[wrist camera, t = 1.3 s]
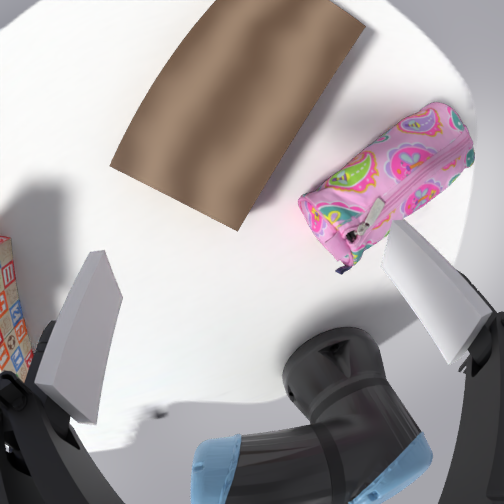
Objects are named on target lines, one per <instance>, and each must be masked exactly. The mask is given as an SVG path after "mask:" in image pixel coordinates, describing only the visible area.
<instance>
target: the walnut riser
mask: <svg viewBox="0 0 504 504" xmlns="http://www.w3.org/2000/svg"><path fill="white" fill-rule="evenodd" d="M365 27H366V26H365V25H363V24H362V23H361V22H359V21H358V20H357V19H355V18H354V17H353V16H351V15H350V14H348V13H347V12H346V11H344V10H343V9H341V8H340V7H338V6H337V5H335V4H334V3H332V2H331V1H329V0H216V1H215V2H214V3H213V4H212V5H211V6H210V8H209V9H208V10H207V11H206V12H205V13H204V14H203V16H202V17H201V18H200V19H199V20H198V22H197V23H196V24H195V25H194V27H193V28H192V29H191V30H190V32H189V33H188V34H187V36H186V37H185V38H184V39H183V41H182V42H181V43H180V45H179V46H178V48H177V49H176V50H175V52H174V53H173V55H172V56H171V57H170V59H169V60H168V62H167V63H166V65H165V66H164V68H163V69H162V71H161V72H160V74H159V75H158V77H157V78H156V80H155V81H154V83H153V85H152V86H151V88H150V90H149V91H148V93H147V94H146V96H145V98H144V100H143V101H142V103H141V105H140V106H139V108H138V110H137V112H136V114H135V115H134V117H133V119H132V121H131V123H130V125H129V127H128V129H127V130H126V132H125V134H124V136H123V138H122V140H121V142H120V144H119V146H118V149H117V151H116V153H115V155H114V157H113V159H112V161H111V164H110V167H112V168H114V169H116V170H118V171H120V172H122V173H124V174H126V175H128V176H130V177H132V178H134V179H136V180H138V181H140V182H142V183H144V184H146V185H148V186H150V187H152V188H154V189H156V190H158V191H160V192H162V193H164V194H166V195H168V196H170V197H172V198H174V199H176V200H177V201H179V202H181V203H183V204H185V205H187V206H189V207H191V208H193V209H195V210H197V211H199V212H201V213H203V214H205V215H207V216H209V217H211V218H212V219H214V220H216V221H218V222H220V223H222V224H224V225H226V226H228V227H230V228H232V229H234V230H236V231H237V232H238V230H239V228H240V227H241V225H242V223H243V221H244V220H245V218H246V216H247V215H248V213H249V211H250V210H251V208H252V206H253V205H254V203H255V201H256V200H257V198H258V196H259V195H260V193H261V191H262V190H263V188H264V186H265V185H266V183H267V181H268V180H269V178H270V176H271V175H272V173H273V171H274V170H275V168H276V166H277V165H278V163H279V161H280V160H281V158H282V157H283V155H284V153H285V152H286V150H287V148H288V147H289V145H290V144H291V142H292V140H293V139H294V137H295V135H296V134H297V132H298V131H299V129H300V127H301V126H302V124H303V123H304V121H305V119H306V118H307V116H308V115H309V113H310V111H311V110H312V108H313V107H314V105H315V104H316V102H317V100H318V99H319V97H320V96H321V94H322V93H323V91H324V89H325V88H326V86H327V85H328V83H329V82H330V80H331V79H332V77H333V75H334V74H335V72H336V71H337V69H338V68H339V66H340V65H341V63H342V62H343V60H344V59H345V57H346V55H347V54H348V52H349V51H350V49H351V48H352V46H353V45H354V43H355V42H356V40H357V39H358V37H359V36H360V34H361V33H362V31H363V30H364V28H365Z"/></svg>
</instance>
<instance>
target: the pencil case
mask: <svg viewBox="0 0 504 504" xmlns="http://www.w3.org/2000/svg"><path fill="white" fill-rule="evenodd" d="M474 159H475V152H474V149H473V141H472V139H471V137H470V135H469V132H468V130H467V127H466V126H465V125H463V123H462V121H461V119H460V117H459V116H458V114H457V113H456V112H455V111H454V110H453V109H452V108H451V107H450V106H448V105H446V104H443V103H439V102H434V103H430V104H428V105H426V106H425V107H423V108H422V109H421V110H420V112H418V113H415V114H413V115H410V116H408V117H406V118H404V119H402V120H401V121H400V122H399V123H398V124H396V125H395V126H394V127H393V128H391V129H390V130H389V131H387V132H386V133H385V134H383V135H382V136H381V137H380V138H378V139H377V140H376V141H375V142H374V143H372V144H371V145H369V146H368V147H367V148H365V149H364V150H362V151H361V152H360V153H359V154H358V155H357V156H356V157H355V158H354V159H352V160H351V161H350V162H349V163H348V164H347V165H346V166H345V167H344V168H342V169H341V170H340V171H339V172H337V173H335V174H334V175H333V176H331V177H330V178H329V179H328V180H327V181H325V182H324V183H323V184H322V185H321V186H320V187H319V188H318V189H317V190H316V191H315V192H311V193H306V194H303V195H301V197H300V198H299V199H298V205H299V207H300V210H301V211H302V213H303V215H304V217H305V219H306V221H307V223H308V225H309V227H310V229H311V230H312V232H313V233H314V235H315V236H316V238H317V239H318V240H319V241H320V242H321V243H322V245H323V246H324V247H325V248H326V249H327V250H328V251H329V252H330V253H331V254H332V255H333V256H334V258H335V259H336V260H337V261H339V260H341V261H342V262H343V264H344V265H345V266H342V267H340V268H338V269H337V270H335V272H337V273H339V274H343V273H344V272H345V271H347V270H349V269H350V268H351V267H352V266H354V265H355V264H356V263H357V262H358V261H359V260H360V259H361V257H362V254H363V252H364V251H365V250H366V249H368V248H370V247H371V246H373V245H374V244H376V243H377V242H379V241H380V240H381V239H383V238H384V237H386V236H387V235H388V234H389V232H390V228H391V224H392V220H403V219H404V217H406V216H409V215H410V214H412V213H413V212H415V211H417V210H418V209H420V208H421V207H423V206H424V205H425V204H427V203H428V202H429V201H431V200H432V199H433V198H434V197H436V196H437V195H438V194H440V193H441V192H442V191H444V190H445V189H446V188H447V187H448V186H450V185H451V184H452V183H453V182H454V180H455V179H456V178H457V177H458V176H459V175H460V174H461V173H462V171H463V170H464V169H465V168H469V167H470V166H471V165H472V164H473V163H474Z"/></svg>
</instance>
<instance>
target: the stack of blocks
mask: <svg viewBox="0 0 504 504" xmlns="http://www.w3.org/2000/svg"><path fill="white" fill-rule="evenodd" d="M15 280H16V278H15V272H14V264H13V255H12V245H11V238H9V237H4V236H0V373H2V372H4V371H12V372H13V373H15V374H16V375H17V376H18V377H19V378H20V379H21V380H22V381H23V382H25V379H26V376H27V373H28V370H29V367H30V364H31V361H32V359H33V356H34V354H33V351H32V349H31V348H32V347H31V343H30V340H29V337H28V334H27V329H26V325H25V321H24V318H23V314H22V310H21V306H20V301H19V297H18V292H17V286H16V281H15Z"/></svg>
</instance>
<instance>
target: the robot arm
mask: <svg viewBox="0 0 504 504" xmlns="http://www.w3.org/2000/svg"><path fill="white" fill-rule="evenodd" d="M381 268H382V269H383V270H384V271H385V273H386V274H387V275H388V277H389V278H390V279H391V281H392V282H393V283H394V285H395V286H396V287H397V289H398V290H399V292H400V293H401V294H402V296H403V297H404V298H405V300H406V301H407V303H408V304H409V305H410V307H411V308H412V310H413V311H414V313H415V314H416V315H417V317H418V318H419V320H420V321H421V323H422V324H423V326H424V327H425V329H426V330H427V332H428V333H429V335H430V336H431V338H432V339H433V341H434V342H435V344H436V346H437V347H438V348H439V350H440V352H441V354H442V355H443V357H444V358H445V360H446V362H447V363H448V365H450V364H451V363H453V362H456V361H458V360H459V359H461V357H462V356H463V355H464V353H465V352H466V351H467V350H468V351H469V353H470V355H469V356H468V357H467V359H466V360H465V361H464V363H463V364H462V365H461V366H460V368H459V372H461V371H462V369H463V368H464V367H465V366H466V369H465V370H464V372H463V373H465V374H466V380H465V391H464V400H463V407H462V414H461V420H460V426H459V431H458V436H457V441H456V445H455V450H454V454H453V458H452V462H451V466H450V469H449V472H448V476H447V479H446V482H445V485H444V488H443V491H442V494H441V497H440V500H439V502H438V504H504V312H499V313H497V312H496V311H495V310H494V308H493V307H492V306H491V305H490V304H489V302H488V301H487V300H486V299H485V298H484V296H483V295H482V294H481V293H480V292H479V291H477V289H476V287H475V286H474V285H473V284H471V282H470V281H469V279H468V278H467V277H466V276H465V275H464V274H462V273H460V272H459V271H458V270H456V269H455V268H454V267H453V266H452V265H451V264H450V263H449V262H448V261H447V260H446V259H445V258H444V257H443V256H442V255H441V254H440V253H439V252H438V251H437V250H436V249H435V248H434V247H433V246H432V245H431V244H430V243H429V242H428V241H427V240H426V239H425V238H424V237H423V236H422V235H421V234H420V233H419V232H417V231H416V230H415V229H414V228H413V227H412V226H411V225H410V224H409V223H408V222H406V221H405V220H404V219H403V220H392V224H391V228H390V232H389V237H388V241H387V245H386V249H385V253H384V256H383V260H382V264H381ZM122 299H123V296H122V294H121V292H120V289H119V287H118V284H117V282H116V279H115V277H114V274H113V272H112V269H111V266H110V264H109V261H108V258H107V255H106V253H105V250H101V251H94V252H90V253H89V255H88V257H87V258H86V260H85V262H84V264H83V266H82V268H81V270H80V272H79V274H78V276H77V278H76V280H75V282H74V284H73V286H72V288H71V290H70V292H69V294H68V296H67V298H66V300H65V303H64V305H63V307H62V309H61V312H60V314H59V316H58V319H57V321H51V322H50V323H49V324H48V326H47V327H46V328H45V329H44V331H43V333H42V335H41V338H40V340H39V344H38V345H37V348H36V353H34V356H33V359H32V361H31V364H30V367H29V370H28V373H27V376H26V379H25V382H23V381H22V380H21V379H20V378H19V377H18V376H17V375H16V374H15V373H13V372H12V371H4V372H2V373H0V504H125V503H124V502H123V501H122V500H121V498H120V497H119V496H118V495H117V493H116V492H115V491H114V490H113V488H112V487H111V486H110V484H109V483H108V482H107V480H106V479H105V477H104V476H103V475H102V473H101V472H100V470H99V469H98V467H97V466H96V464H95V463H94V461H93V460H92V458H91V457H90V455H89V454H88V452H87V450H86V449H85V447H84V446H83V444H82V442H81V441H80V439H79V437H78V435H77V434H76V432H75V430H74V428H73V427H72V426H71V424H70V423H69V422H70V416H71V417H72V418H73V419H74V420H76V421H77V422H78V423H82V424H89V425H96V424H97V417H98V410H99V403H100V397H101V391H102V385H103V380H104V374H105V369H106V364H107V360H108V355H109V350H110V346H111V342H112V337H113V333H114V329H115V325H116V321H117V317H118V314H119V310H120V306H121V303H122ZM283 384H284V387H285V390H286V393H287V395H288V397H289V398H290V400H291V401H292V402H293V403H294V404H295V405H296V406H297V407H298V409H299V410H300V411H301V412H302V413H303V414H304V415H305V416H306V418H307V419H308V420H309V421H310V424H311V425H306V426H301V427H295V428H290V429H285V430H279V431H272V432H266V433H258V434H249V435H241V434H236V435H234V436H232V437H224V438H216V439H208V440H205V441H204V442H202V443H201V444H200V445H199V446H198V447H197V449H196V451H195V455H194V459H193V465H192V475H191V504H381V503H383V502H384V501H386V500H388V499H389V498H391V497H393V496H394V495H396V494H397V493H399V492H400V491H402V490H403V489H404V488H406V487H407V486H409V485H410V484H411V483H412V482H414V481H415V480H416V479H417V478H419V477H420V476H421V475H422V474H423V473H424V472H425V471H426V470H427V469H428V467H429V466H430V465H431V462H432V459H433V453H432V450H431V448H430V447H429V445H428V443H427V440H426V438H425V436H424V433H423V432H421V430H420V429H419V427H418V426H417V424H416V423H415V421H414V420H413V418H412V417H411V415H410V414H409V412H408V411H407V409H406V408H405V406H404V405H403V403H402V402H401V400H400V399H399V397H398V396H397V394H396V393H395V391H394V390H393V389H392V387H391V386H390V384H389V383H388V381H387V379H386V376H385V371H384V366H383V362H382V358H381V354H380V350H379V348H378V346H377V344H376V343H375V341H374V340H373V339H372V337H371V336H370V335H369V334H368V333H367V332H365V331H363V330H361V329H358V328H352V327H345V328H337V329H333V330H330V331H327V332H324V333H322V334H319V335H317V336H315V337H314V338H312V339H310V340H309V341H307V342H306V343H304V344H303V345H302V346H301V347H299V348H298V349H297V350H296V351H295V352H294V353H293V355H292V356H291V357H290V358H289V360H288V362H287V363H286V365H285V368H284V371H283ZM5 444H6V445H8V446H9V452H7V451H6V448H5Z"/></svg>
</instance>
